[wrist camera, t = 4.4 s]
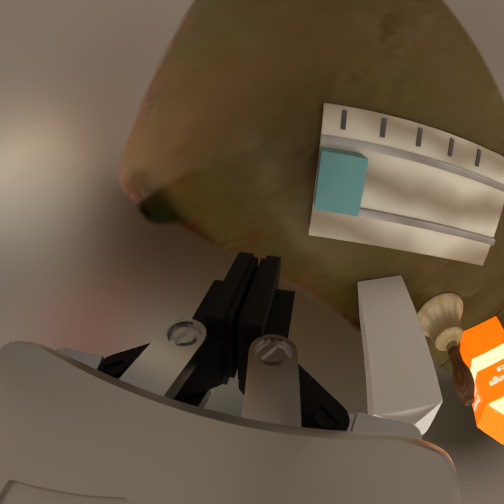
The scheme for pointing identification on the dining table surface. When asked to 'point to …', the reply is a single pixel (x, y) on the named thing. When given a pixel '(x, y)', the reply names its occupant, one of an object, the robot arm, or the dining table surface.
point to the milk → (396, 355)
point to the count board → (414, 187)
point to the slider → (340, 181)
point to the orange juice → (486, 374)
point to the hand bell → (448, 338)
